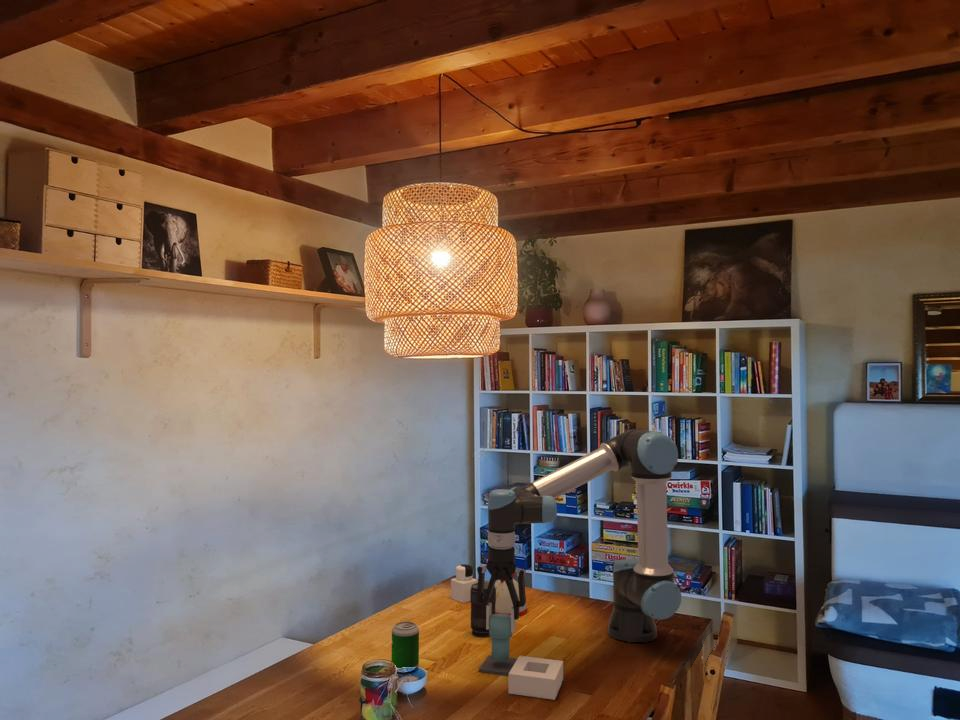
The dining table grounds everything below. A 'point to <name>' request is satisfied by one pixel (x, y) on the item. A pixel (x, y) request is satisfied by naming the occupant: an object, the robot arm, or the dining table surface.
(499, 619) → the capped plug
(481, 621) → the camera lens
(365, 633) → the dining table surface
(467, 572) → the medicine bottle
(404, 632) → the soda can
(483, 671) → the slate mat
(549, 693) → the bore block
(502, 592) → the kitchen timer
